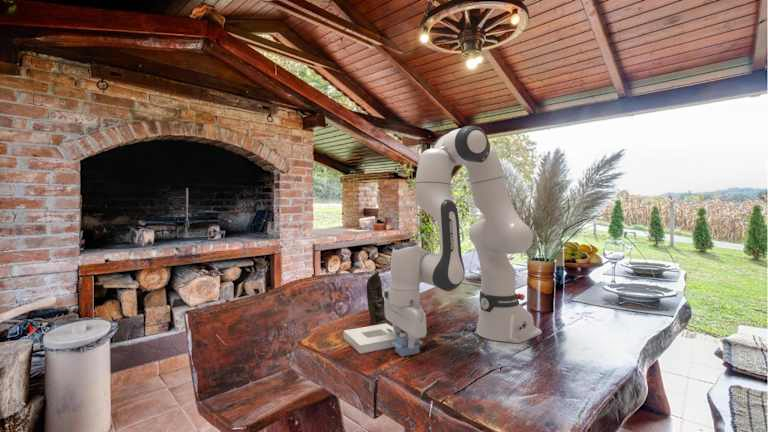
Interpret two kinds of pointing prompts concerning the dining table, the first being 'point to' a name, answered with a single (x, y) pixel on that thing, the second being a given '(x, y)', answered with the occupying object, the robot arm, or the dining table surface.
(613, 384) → the dining table surface
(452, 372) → the dining table surface
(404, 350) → the servo
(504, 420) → the dining table surface
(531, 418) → the dining table surface
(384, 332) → the frame
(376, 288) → the statue
